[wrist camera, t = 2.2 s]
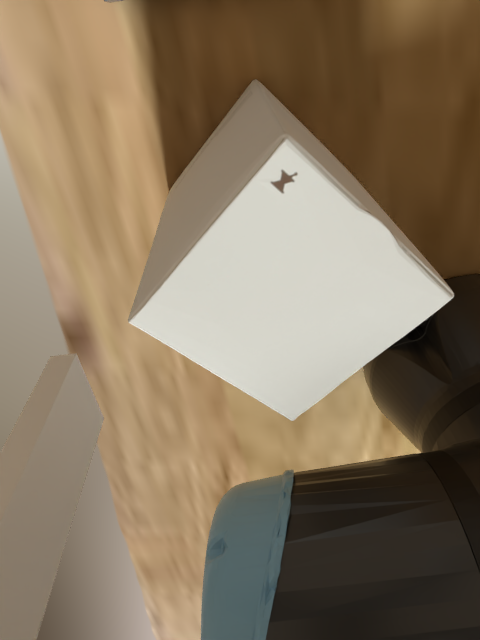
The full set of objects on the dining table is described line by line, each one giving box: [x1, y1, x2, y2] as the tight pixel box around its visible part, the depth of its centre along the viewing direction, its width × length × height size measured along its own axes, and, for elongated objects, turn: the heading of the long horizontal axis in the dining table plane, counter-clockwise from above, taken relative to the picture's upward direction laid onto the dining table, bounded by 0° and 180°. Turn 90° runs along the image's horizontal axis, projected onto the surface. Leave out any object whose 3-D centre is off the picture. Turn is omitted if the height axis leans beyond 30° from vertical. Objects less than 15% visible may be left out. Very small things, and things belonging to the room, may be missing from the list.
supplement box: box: [128, 79, 454, 421], centre depth 22 cm, size 9×9×15 cm
